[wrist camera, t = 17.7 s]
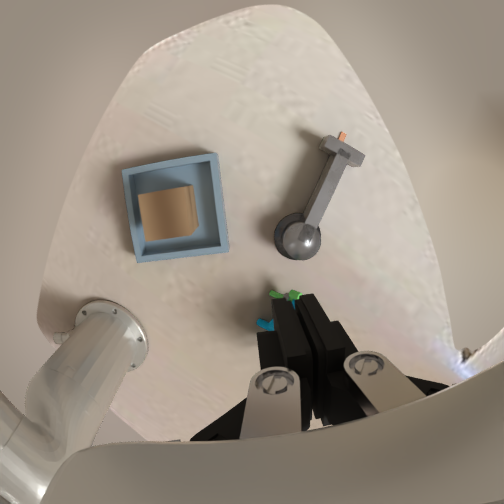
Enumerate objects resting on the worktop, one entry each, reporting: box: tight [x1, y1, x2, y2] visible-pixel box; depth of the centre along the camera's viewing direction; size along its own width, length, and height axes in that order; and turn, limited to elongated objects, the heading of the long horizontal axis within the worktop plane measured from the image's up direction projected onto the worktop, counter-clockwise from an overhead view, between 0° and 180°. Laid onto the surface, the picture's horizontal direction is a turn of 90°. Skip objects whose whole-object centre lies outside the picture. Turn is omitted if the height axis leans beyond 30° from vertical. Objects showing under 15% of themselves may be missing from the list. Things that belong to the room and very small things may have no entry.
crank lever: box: [281, 135, 365, 260], centre depth 33 cm, size 15×5×3 cm, turn 156°
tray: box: [122, 153, 229, 263], centre depth 33 cm, size 12×12×2 cm
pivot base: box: [274, 132, 346, 260], centre depth 35 cm, size 6×18×1 cm, turn 146°
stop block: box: [138, 185, 199, 242], centre depth 31 cm, size 5×5×6 cm
